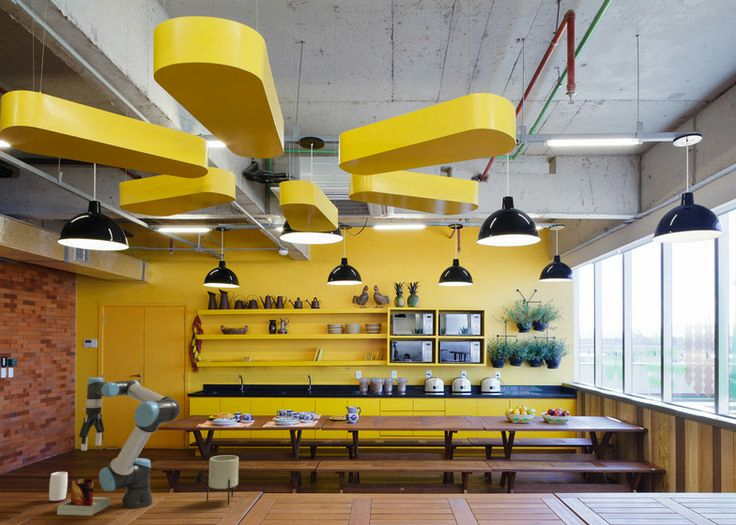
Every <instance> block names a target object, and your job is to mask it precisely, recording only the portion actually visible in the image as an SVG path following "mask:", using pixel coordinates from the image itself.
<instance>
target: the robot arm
mask: <svg viewBox="0 0 736 525" xmlns="http://www.w3.org/2000/svg"><path fill="white" fill-rule="evenodd" d="M87 380H88V381H87V385H86V386H87V387H86V388H87V389H86V401H85V402H86V404H85V406H86V407H85V415H86V416H87V417H83V422H82V426H81V428H80V431H79V435H78V436H79V438H81V444H80V450H81V451H87V450H88V434H89V432H90V430H91V428H92V427H93V426H94V428H95V430H96V433H95V443H94V445H95V446H101V445H102V433H105V426H104V422H103V414H102V405H103V397H106V398H114V397H117V396H127V397H129V398H131V399H134V400H135V401H138V402H140V404H138V406H137V407H136V409H135V411H134V417H133V420H134V424H135V427H134V428H133V430H132V432H130V434H129V437H128V438H127V440H126V442H125V443H124V445H123V447H122V448H121V450H120V452H119V454H118V455H117V457H116V458H113V459H112V460H111V462H110V463H109V465H108V466H106V467H103V468H102V469H100V472H99V473H98V480H99V484H100V487H101V488H102V490H104V491H105V492H113V491H116V490H120V489H123V488H125V491H124V494H123V496H122V499H121V502H120V503H121V507H122V508H125V509H139V508H145V507H148V506H150V505H152V503H153V495H152V492H151V489H150V488H151V486H150V485H151V470H152V466H151V464H152V463H151V460H150V459H149V458H144V457H143V458H141V457H140V458H139V455H140V453H141V452H142V450H143V448H144V446H145V445H146V444H147V441H149V438H150V437H151V434H153V433H155V432H157V430H158V429H159V428H160V425H162V424H167V423H171V422H172V423H173V421H175V420H177V418H178V417H179V415H180V413H181V404H180V403H179V402H178V400H176V399H175V398H173V397H171V396H169V395H167V396H164V395H161V394H160V393H157V392H155V391H153V390H151V389H148V388H146V387H144V386H142V385H140V383H139V381H138V380H132V379H131V380H130V379H129V380H120V381H107V382H106V381H104V378H103V377H99V376H97V377H89V378H88V379H87Z"/></svg>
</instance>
